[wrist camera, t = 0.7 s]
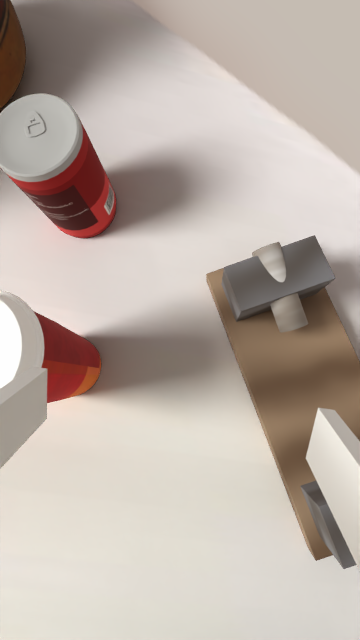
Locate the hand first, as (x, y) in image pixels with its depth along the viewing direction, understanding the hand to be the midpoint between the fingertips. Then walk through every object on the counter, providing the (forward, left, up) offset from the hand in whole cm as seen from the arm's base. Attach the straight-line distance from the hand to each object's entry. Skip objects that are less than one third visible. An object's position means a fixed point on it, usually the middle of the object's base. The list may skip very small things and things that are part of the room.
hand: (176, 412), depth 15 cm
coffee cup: (+7, +11, -16) cm, 20 cm away
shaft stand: (-2, -10, -16) cm, 19 cm away
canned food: (+24, +5, -16) cm, 29 cm away
